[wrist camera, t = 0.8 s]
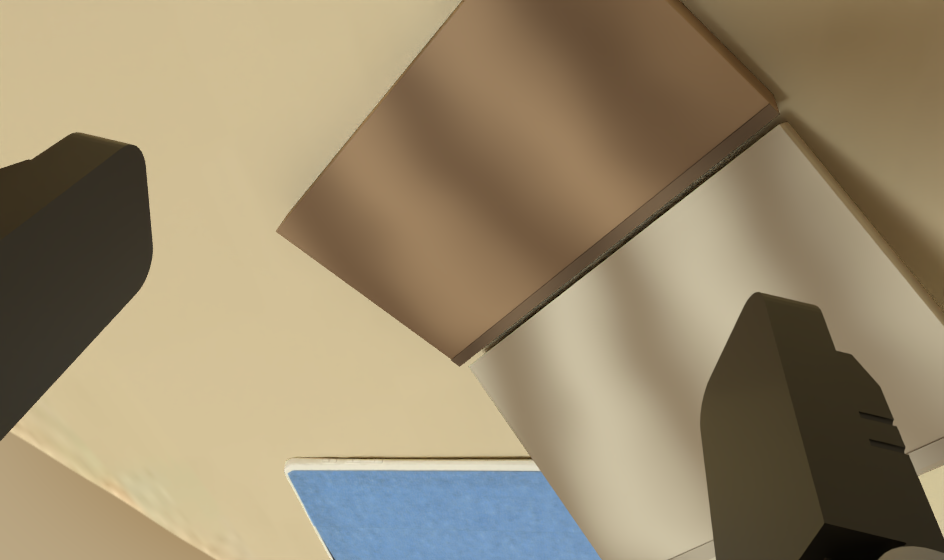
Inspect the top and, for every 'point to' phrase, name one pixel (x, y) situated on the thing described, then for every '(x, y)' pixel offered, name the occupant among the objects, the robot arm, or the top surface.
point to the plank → (706, 345)
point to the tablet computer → (435, 510)
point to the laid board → (522, 157)
